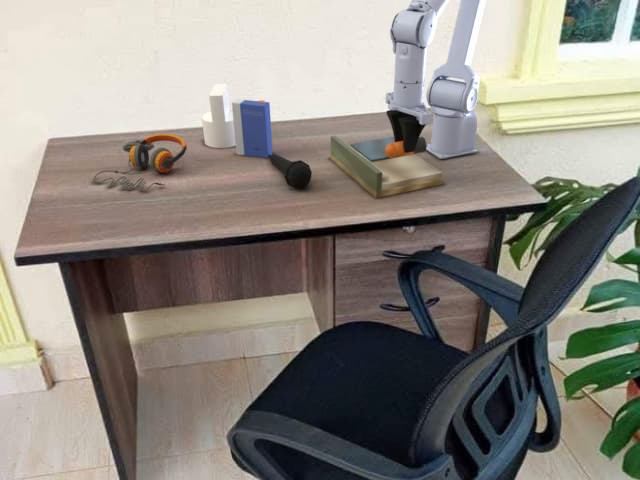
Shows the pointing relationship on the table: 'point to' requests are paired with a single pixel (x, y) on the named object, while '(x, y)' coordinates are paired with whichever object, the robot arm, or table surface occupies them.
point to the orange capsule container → (398, 151)
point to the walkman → (252, 128)
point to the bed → (383, 167)
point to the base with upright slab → (219, 119)
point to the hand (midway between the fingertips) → (404, 148)
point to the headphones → (159, 159)
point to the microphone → (292, 171)
